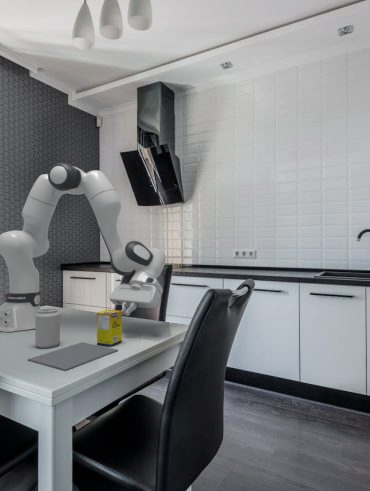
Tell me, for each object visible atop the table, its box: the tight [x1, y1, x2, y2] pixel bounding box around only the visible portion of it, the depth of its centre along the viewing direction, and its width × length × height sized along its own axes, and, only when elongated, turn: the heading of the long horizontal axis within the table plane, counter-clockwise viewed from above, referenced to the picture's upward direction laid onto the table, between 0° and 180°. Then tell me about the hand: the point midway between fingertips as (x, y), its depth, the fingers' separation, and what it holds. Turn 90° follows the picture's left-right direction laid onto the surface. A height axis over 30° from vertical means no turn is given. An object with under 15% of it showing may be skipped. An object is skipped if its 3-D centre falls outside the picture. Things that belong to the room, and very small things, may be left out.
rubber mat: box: [27, 341, 119, 372], centre depth 100 cm, size 20×16×1 cm
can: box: [34, 307, 61, 349], centre depth 111 cm, size 8×8×12 cm
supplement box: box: [96, 309, 123, 348], centre depth 113 cm, size 6×6×11 cm
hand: (124, 314), depth 119 cm, fingers closed
